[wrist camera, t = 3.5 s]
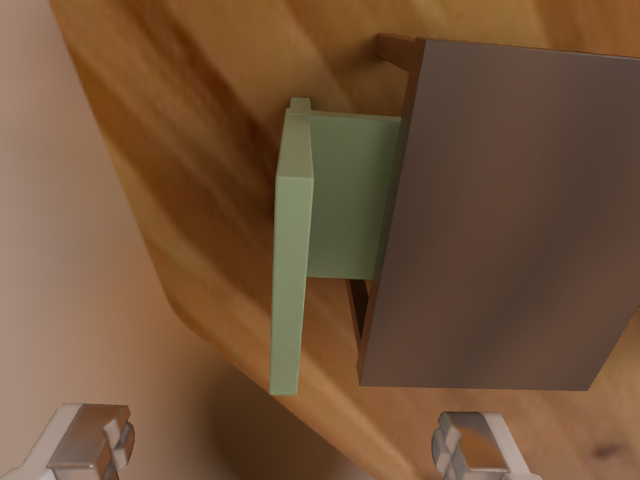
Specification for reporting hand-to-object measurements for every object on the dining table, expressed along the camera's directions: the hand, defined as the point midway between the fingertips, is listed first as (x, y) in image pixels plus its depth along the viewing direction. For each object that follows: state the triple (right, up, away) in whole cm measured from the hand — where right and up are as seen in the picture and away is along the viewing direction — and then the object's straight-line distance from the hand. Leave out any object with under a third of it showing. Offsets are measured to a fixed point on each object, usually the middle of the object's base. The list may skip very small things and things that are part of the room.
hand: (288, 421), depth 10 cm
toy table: (+10, +9, +18) cm, 23 cm away
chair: (+3, +10, +18) cm, 20 cm away
